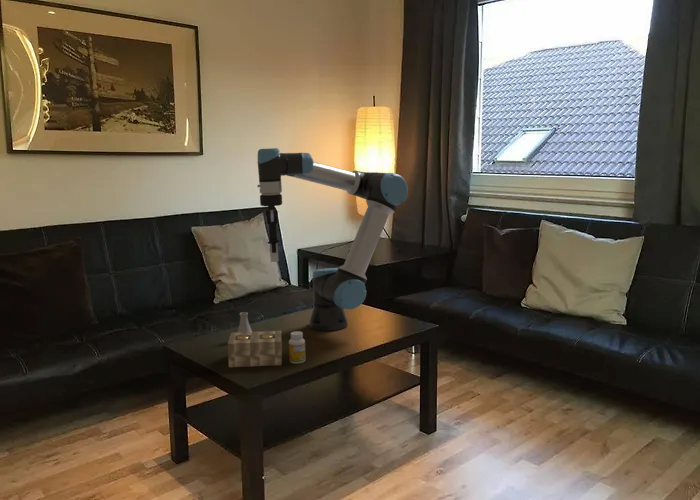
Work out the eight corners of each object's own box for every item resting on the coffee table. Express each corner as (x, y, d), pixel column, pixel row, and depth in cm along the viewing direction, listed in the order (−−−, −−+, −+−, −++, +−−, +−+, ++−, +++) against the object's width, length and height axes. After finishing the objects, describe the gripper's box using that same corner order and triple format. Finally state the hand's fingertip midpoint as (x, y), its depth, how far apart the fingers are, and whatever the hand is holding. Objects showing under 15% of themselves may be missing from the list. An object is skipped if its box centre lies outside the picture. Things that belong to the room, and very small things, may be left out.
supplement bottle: (289, 358, 209) (288, 330, 208) (305, 358, 210) (304, 330, 208) (289, 364, 204) (288, 335, 202) (305, 363, 204) (304, 335, 203)
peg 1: (250, 357, 210) (249, 335, 209) (249, 361, 206) (248, 338, 205) (238, 358, 210) (237, 335, 208) (237, 362, 206) (236, 339, 205)
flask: (250, 342, 227) (249, 316, 226) (231, 341, 229) (230, 315, 227) (257, 336, 234) (256, 311, 233) (239, 335, 236) (238, 310, 234)
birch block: (281, 352, 215) (281, 330, 214) (281, 364, 203) (280, 341, 202) (232, 355, 214) (231, 332, 212) (228, 367, 202) (227, 343, 200)
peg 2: (274, 356, 211) (273, 334, 210) (274, 360, 207) (273, 337, 206) (262, 357, 211) (261, 334, 209) (262, 361, 207) (261, 338, 205)
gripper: (260, 192, 219) (263, 258, 223) (259, 196, 206) (263, 265, 210) (281, 191, 220) (284, 257, 224) (282, 195, 207) (285, 264, 211)
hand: (274, 261), depth 217 cm, fingers closed
